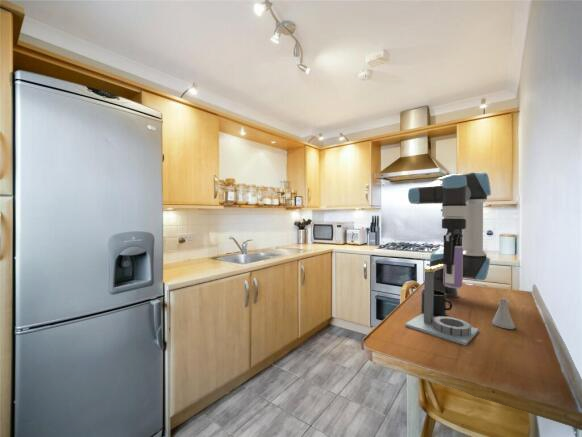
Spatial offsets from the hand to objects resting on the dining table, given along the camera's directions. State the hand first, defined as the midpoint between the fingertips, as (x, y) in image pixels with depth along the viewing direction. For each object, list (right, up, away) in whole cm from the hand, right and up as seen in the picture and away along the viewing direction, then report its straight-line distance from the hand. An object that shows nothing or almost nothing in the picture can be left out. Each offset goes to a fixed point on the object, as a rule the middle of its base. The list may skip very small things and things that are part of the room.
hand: (452, 281), depth 96 cm
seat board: (-3, -19, +3) cm, 19 cm away
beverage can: (0, -2, 0) cm, 2 cm away
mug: (+4, -19, +19) cm, 27 cm away
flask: (+24, -19, +6) cm, 31 cm away
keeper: (-1, +2, +10) cm, 10 cm away
